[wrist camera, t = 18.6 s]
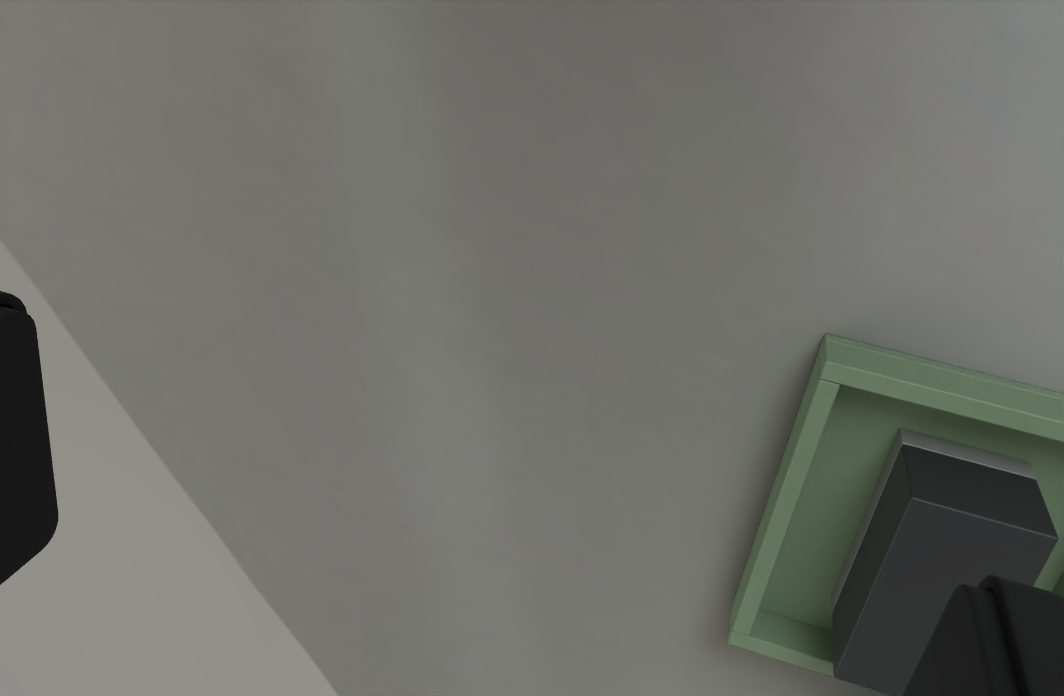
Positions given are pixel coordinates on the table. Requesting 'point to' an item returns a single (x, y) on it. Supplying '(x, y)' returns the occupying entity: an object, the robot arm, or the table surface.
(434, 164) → the table surface
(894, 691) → the eraser
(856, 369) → the tray
